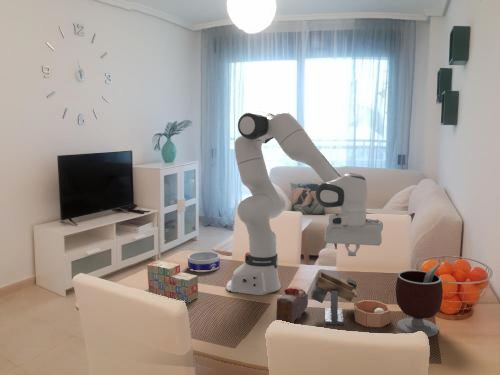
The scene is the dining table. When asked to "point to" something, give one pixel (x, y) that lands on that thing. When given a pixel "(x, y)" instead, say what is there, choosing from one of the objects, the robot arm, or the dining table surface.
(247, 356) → the dining table surface
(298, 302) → the food item
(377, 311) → the ball
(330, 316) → the chute stand
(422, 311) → the mate gourd
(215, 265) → the dog bowl
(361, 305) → the octagonal bowl
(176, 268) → the stack of blocks
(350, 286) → the tipping chute
